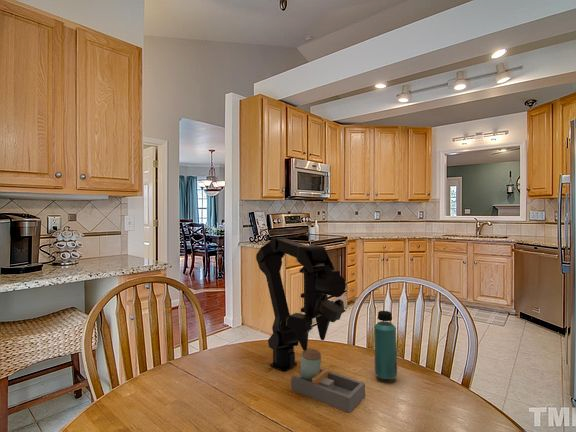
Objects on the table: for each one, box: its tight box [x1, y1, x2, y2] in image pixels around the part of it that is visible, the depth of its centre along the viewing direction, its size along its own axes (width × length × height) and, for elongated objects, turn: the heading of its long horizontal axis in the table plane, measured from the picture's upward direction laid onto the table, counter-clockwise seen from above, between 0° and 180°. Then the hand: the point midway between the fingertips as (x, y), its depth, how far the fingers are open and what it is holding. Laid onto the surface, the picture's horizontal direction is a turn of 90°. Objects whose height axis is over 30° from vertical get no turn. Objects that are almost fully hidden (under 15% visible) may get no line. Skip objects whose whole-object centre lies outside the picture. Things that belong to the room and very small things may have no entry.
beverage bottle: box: [373, 310, 398, 380], centre depth 97 cm, size 6×7×20 cm
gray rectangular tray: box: [290, 368, 366, 414], centre depth 90 cm, size 18×9×4 cm, turn 53°
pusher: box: [312, 369, 334, 389], centre depth 90 cm, size 4×7×3 cm, turn 143°
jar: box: [298, 348, 322, 382], centre depth 93 cm, size 6×6×8 cm
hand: (313, 344), depth 93 cm, fingers open, 9 cm apart
